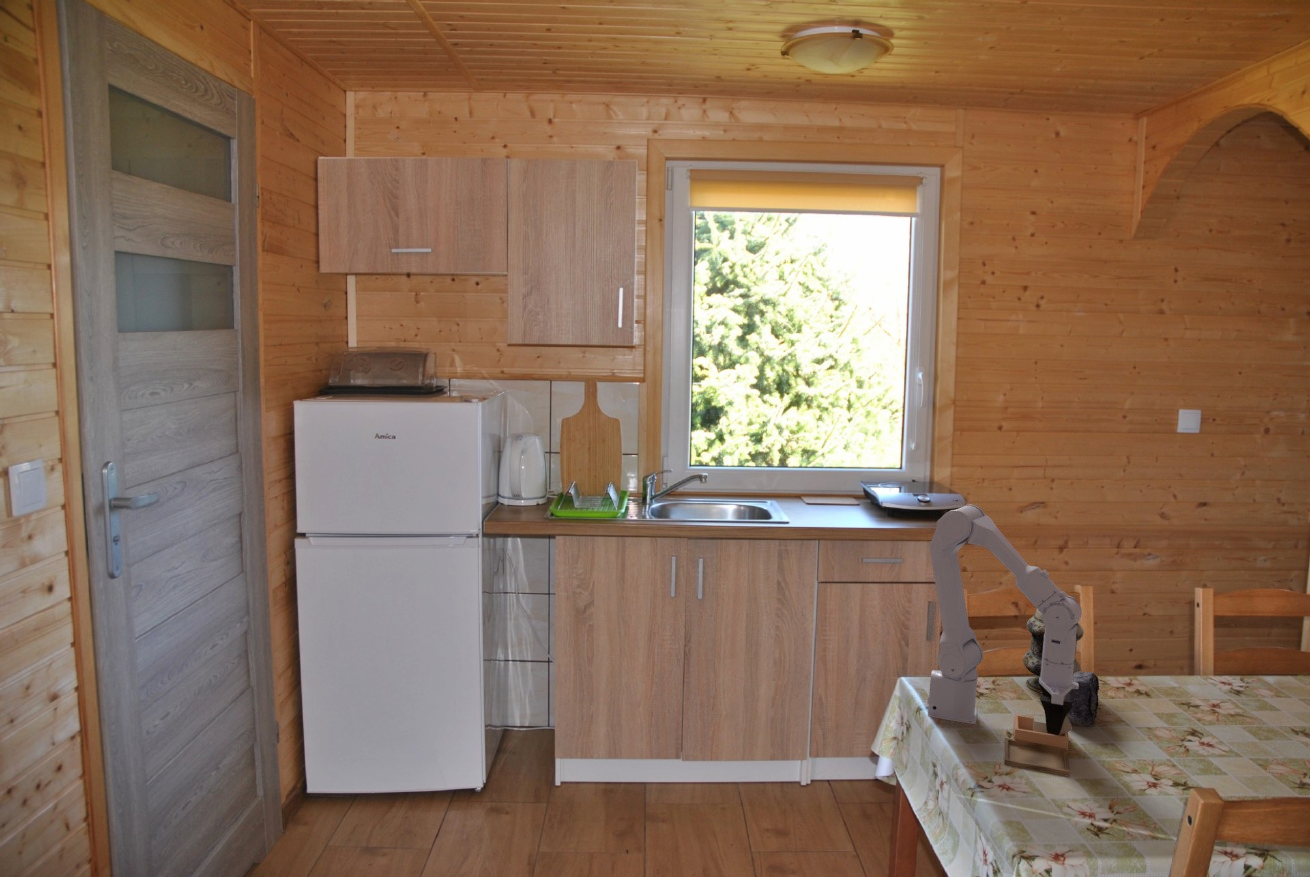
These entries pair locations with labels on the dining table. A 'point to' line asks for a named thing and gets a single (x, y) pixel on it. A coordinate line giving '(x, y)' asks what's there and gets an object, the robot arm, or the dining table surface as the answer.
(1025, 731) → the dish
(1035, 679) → the apothecary jar
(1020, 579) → the robot arm
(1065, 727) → the stone beige
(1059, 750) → the tray
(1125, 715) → the dining table surface
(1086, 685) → the rock
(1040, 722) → the stone grey
